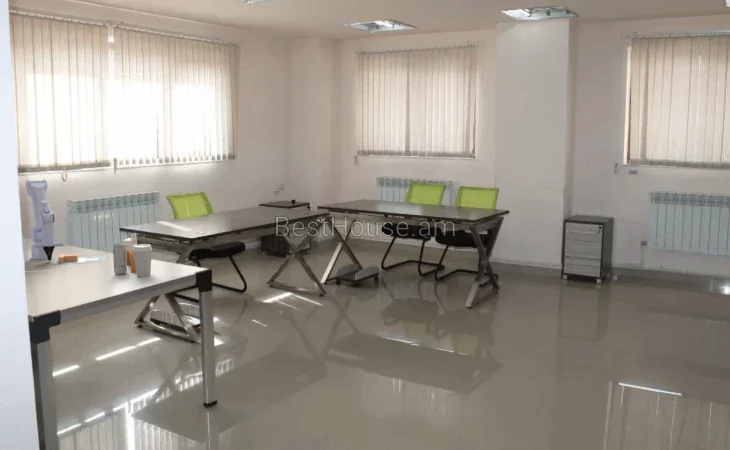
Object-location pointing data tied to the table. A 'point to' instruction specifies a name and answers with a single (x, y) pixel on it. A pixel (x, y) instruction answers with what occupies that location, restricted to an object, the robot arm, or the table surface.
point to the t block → (67, 258)
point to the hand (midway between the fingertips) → (49, 260)
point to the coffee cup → (142, 259)
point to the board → (83, 260)
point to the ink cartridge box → (130, 243)
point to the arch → (131, 260)
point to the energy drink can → (119, 259)
